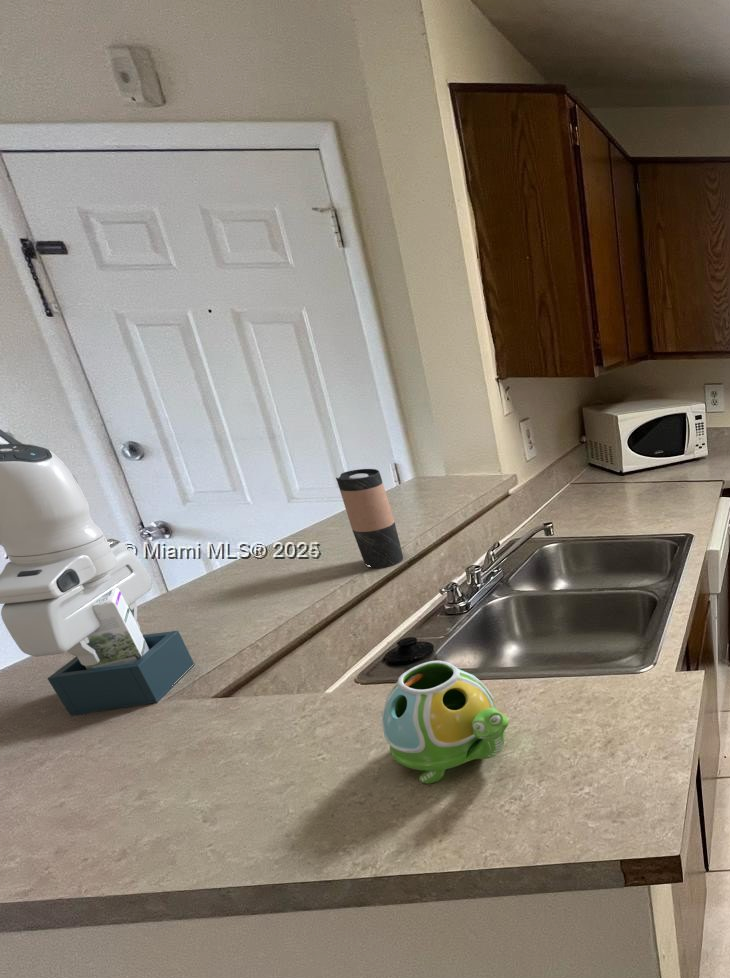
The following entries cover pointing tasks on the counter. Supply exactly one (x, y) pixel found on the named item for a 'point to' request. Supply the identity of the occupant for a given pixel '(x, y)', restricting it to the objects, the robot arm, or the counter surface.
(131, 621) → the syrup box
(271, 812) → the counter surface
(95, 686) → the box
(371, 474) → the travel mug
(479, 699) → the turtle holder
